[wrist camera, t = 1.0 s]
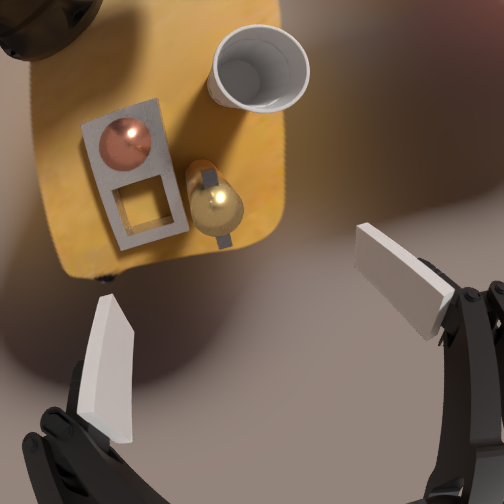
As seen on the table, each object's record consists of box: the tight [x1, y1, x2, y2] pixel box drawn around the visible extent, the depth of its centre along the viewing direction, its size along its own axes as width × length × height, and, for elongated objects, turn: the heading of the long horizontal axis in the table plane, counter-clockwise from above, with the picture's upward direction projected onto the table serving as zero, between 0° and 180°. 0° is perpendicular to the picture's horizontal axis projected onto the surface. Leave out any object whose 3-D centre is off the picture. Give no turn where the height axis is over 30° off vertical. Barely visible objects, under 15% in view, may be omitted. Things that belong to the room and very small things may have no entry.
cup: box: [207, 25, 310, 113], centre depth 23 cm, size 8×8×12 cm
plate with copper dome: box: [80, 98, 190, 251], centre depth 29 cm, size 16×9×3 cm, turn 10°
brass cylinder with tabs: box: [185, 159, 244, 250], centre depth 26 cm, size 6×4×14 cm, turn 10°
